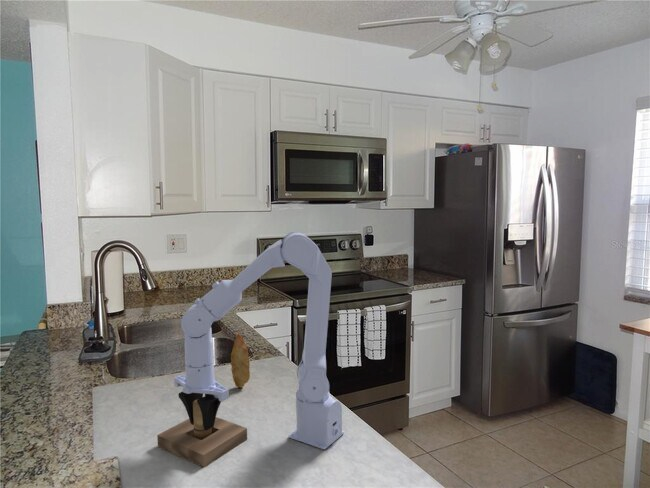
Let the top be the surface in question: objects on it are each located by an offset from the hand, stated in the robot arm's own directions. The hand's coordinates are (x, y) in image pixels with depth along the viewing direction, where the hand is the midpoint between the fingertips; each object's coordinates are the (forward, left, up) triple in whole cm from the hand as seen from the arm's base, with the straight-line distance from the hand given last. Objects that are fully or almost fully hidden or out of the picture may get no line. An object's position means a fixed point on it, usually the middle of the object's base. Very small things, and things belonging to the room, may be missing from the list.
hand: (202, 425), depth 95 cm
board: (0, 0, -4) cm, 4 cm away
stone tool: (+13, -25, -4) cm, 28 cm away
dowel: (0, 0, -3) cm, 3 cm away
